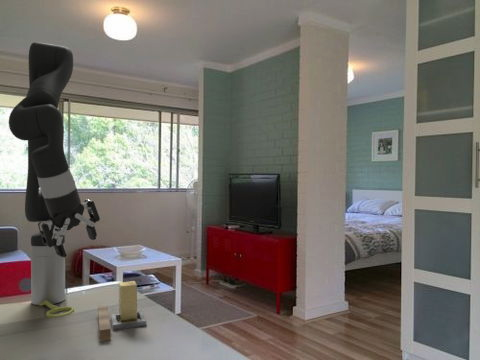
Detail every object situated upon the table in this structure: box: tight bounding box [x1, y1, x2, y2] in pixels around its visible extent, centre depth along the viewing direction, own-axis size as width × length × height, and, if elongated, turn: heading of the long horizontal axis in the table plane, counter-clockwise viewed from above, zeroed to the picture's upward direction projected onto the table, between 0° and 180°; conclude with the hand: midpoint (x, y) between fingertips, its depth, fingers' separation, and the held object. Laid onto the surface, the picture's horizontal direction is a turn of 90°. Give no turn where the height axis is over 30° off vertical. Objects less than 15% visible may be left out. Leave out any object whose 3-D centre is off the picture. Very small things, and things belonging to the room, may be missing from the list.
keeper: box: [110, 310, 147, 331], centre depth 104 cm, size 8×8×1 cm
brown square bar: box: [97, 305, 112, 342], centre depth 101 cm, size 18×2×2 cm, turn 20°
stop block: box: [118, 280, 138, 323], centre depth 103 cm, size 4×4×10 cm
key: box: [37, 300, 75, 319], centre depth 112 cm, size 7×12×2 cm, turn 66°
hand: (78, 247), depth 102 cm, fingers open, 8 cm apart
